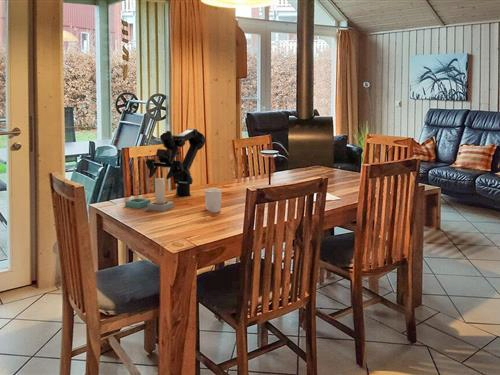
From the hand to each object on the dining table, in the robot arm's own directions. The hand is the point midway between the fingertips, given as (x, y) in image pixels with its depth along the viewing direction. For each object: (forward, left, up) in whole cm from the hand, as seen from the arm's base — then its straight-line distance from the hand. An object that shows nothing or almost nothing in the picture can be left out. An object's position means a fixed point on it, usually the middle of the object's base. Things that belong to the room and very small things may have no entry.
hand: (158, 178), depth 248 cm
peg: (+1, +9, -13) cm, 15 cm away
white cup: (-22, +18, -14) cm, 32 cm away
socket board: (+5, +4, -14) cm, 15 cm away
